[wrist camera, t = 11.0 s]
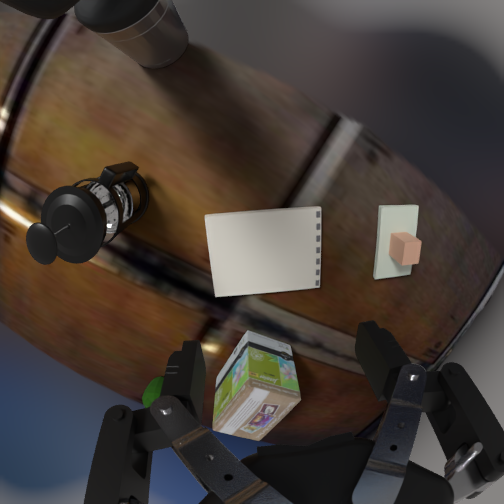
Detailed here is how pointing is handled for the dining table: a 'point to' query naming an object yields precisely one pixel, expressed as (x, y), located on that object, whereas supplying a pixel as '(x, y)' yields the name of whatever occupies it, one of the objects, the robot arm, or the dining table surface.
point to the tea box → (255, 387)
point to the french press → (86, 215)
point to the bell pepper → (152, 391)
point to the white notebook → (264, 250)
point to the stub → (396, 241)
